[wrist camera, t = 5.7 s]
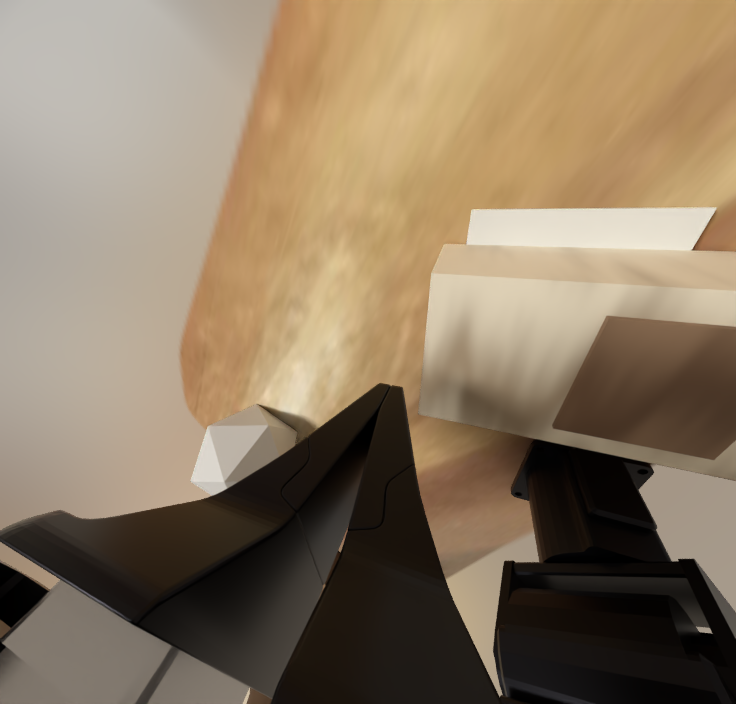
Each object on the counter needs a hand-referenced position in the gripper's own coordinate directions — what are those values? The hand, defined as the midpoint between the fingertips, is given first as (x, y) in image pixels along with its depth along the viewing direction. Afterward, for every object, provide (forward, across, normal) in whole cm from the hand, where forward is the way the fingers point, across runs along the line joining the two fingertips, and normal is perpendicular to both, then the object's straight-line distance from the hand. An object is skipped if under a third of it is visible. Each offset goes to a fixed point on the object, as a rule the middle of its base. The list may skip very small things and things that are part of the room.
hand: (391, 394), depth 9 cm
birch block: (+5, -1, 0) cm, 5 cm away
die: (+8, +15, +15) cm, 23 cm away
